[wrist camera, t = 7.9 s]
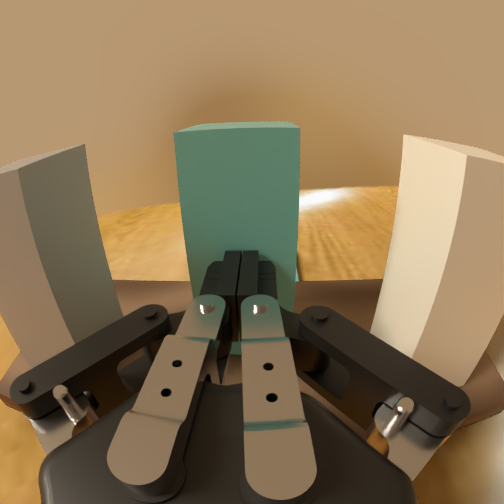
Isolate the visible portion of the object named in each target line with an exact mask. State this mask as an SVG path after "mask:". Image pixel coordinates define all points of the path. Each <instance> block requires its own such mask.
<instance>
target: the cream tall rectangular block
mask: <svg viewBox="0 0 504 504" xmlns="http://www.w3.org/2000/svg"><path fill="white" fill-rule="evenodd" d="M503 314H504V157H502V156H500V155H497V154H494V153H492V152H489V151H486V150H483V149H480V148H475V147H471V146H467V145H462V144H456V143H452V142H446V141H441V140H436V139H430V138H424V137H417V136H411V135H404V139H403V152H402V164H401V174H400V184H399V191H398V199H397V206H396V213H395V220H394V226H393V232H392V238H391V243H390V249H389V254H388V259H387V264H386V269H385V274H384V278H383V283H382V287H381V291H380V296H379V300H378V304H377V308H376V312H375V315H374V319H373V323H372V327H371V330H370V333H371V334H373V335H374V336H376V337H378V338H379V339H381V340H382V341H384V342H386V343H387V344H389V345H390V346H392V347H394V348H395V349H397V350H399V351H400V352H402V353H403V354H405V355H407V356H408V357H410V358H412V359H413V360H415V361H416V362H418V363H420V364H421V365H423V366H424V367H426V368H428V369H429V370H431V371H433V372H434V373H436V374H437V375H439V376H441V377H442V378H444V379H446V380H447V381H449V382H451V383H452V384H454V385H455V386H457V387H459V386H463V385H464V384H465V383H466V381H467V380H468V378H469V376H470V375H471V373H472V372H473V370H474V368H475V367H476V365H477V363H478V362H479V360H480V358H481V356H482V355H483V353H484V351H485V349H486V347H487V346H488V344H489V342H490V340H491V338H492V336H493V334H494V332H495V330H496V328H497V326H498V324H499V322H500V320H501V318H502V316H503Z"/></svg>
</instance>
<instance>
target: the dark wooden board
mask: <svg viewBox="0 0 504 504" xmlns="http://www.w3.org/2000/svg"><path fill="white" fill-rule="evenodd" d="M112 281H113V284H114V288H115V291H116V294H117V297H118V301H119V304H120V307H121V310H122V313H123V316H126V315H128V314H129V313H131V312H133V311H135V310H137V309H138V308H140V307H142V306H145V305H149V304H158V305H162V306H164V307H165V308H166V309H167V311H168V314H171V313H177V312H182V311H185V310H187V307H188V305H189V303H190V302H191V301H192V300H193V294H192V288H191V281H134V280H112ZM382 283H383V279H370V280H336V281H295V295H294V310H293V313H298V314H300V313H301V312H302V311H303V310H304V309H305V308H307V307H310V306H317V305H318V306H325V307H328V308H331V309H333V310H334V311H336V312H337V313H339V314H341V315H342V316H344V317H345V318H347V319H349V320H350V321H352V322H353V323H355V324H357V325H358V326H360V327H361V328H363V329H365V330H366V331H368V332H370V330H371V327H372V323H373V319H374V315H375V312H376V308H377V304H378V300H379V296H380V291H381V287H382ZM143 355H144V352H143V349H142V348H141V349H140V350H138V351H136V352H135V353H133V354H132V355H130V356H128V357H127V358H125V359H123V360H122V361H121V362H120V363H119V364H118V366H117V372H118V371H119V370H121V369H122V368H124V367H126V366H127V365H129V364H130V363H132V362H134V361H135V360H137V359H138V358H140V357H141V356H143ZM30 369H32V368H31V367H30V365H29V364H28V362H27V361H26V359H25V357H24V356H23V354H22V352H21V351H20V353H19V354H18V356H17V357H16V359H15V360H14V362H13V363H12V365H11V366H10V368H9V369H8V371H7V372H6V374H5V375H4V377H3V378H2V380H1V381H0V398H1V400H2V401H3V402H4V403H5V405H7V406H9V407H11V408H13V409H16V410H18V411H20V412H22V411H21V410H20V409H19V408H18V406H17V405H16V404H15V403H14V401H13V400H12V399H11V397H10V387H11V384H12V383H13V381H14V380H15V379H16V378H17V377H18V376H20V375H22V374H23V373H25V372H27V371H29V370H30ZM297 380H298V385H299V391H301V392H303V393H306V394H308V395H310V396H312V397H314V398H315V399H316V400H318V401H319V402H321V403H322V404H323V405H324V406H325V407H326V408H328V409H329V410H330V411H331V412H332V413H333V414H334V415H336V416H337V417H338V418H339V419H340V420H341V421H343V422H344V423H345V424H346V425H347V426H348V427H350V428H351V429H352V430H353V431H354V432H356V433H357V434H358V435H359V436H360V437H362V438H363V439H364V440H365V441H366V431H365V430H364V429H363V428H361V427H360V426H359V425H357V424H356V423H355V422H354V421H352V420H351V419H350V418H348V417H347V416H346V415H345V414H343V413H342V412H341V411H339V410H338V409H337V408H336V407H334V406H333V405H332V404H331V403H329V402H328V401H327V400H326V399H324V398H323V397H322V396H321V395H320V394H318V393H317V392H316V391H315V390H313V389H312V388H311V387H310V386H309V385H307V384H306V383H305V382H304V381H303V380H301V379H300V378H299V377H298V376H297ZM238 383H242V355H231V358H230V363H229V367H228V372H227V376H226V381H225V385H232V384H238ZM459 388H460V389H462V390H463V391H464V392H465V393H466V394H467V395H468V397H469V399H470V403H471V409H470V412H469V414H468V416H467V417H466V418H465V419H464V421H463V422H462V423H461V424H460V425H459V427H458V428H457V429H459V428H462V427H465V426H468V425H470V424H473V423H476V422H478V421H481V420H484V419H486V418H489V417H491V416H493V415H496V414H498V413H500V412H502V410H503V409H504V381H503V379H502V377H501V376H500V374H499V372H498V371H497V369H496V367H495V366H494V364H493V362H492V361H491V359H490V358H489V356H488V354H487V353H486V351H484V353H483V355H482V356H481V358H480V360H479V362H478V363H477V365H476V367H475V368H474V370H473V372H472V373H471V375H470V376H469V378H468V380H467V381H466V383H465V384H464V385H463V386H459Z"/></svg>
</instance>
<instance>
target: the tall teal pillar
mask: <svg viewBox="0 0 504 504" xmlns="http://www.w3.org/2000/svg"><path fill="white" fill-rule="evenodd" d="M174 141H175V154H176V165H177V177H178V187H179V196H180V206H181V214H182V223H183V231H184V239H185V246H186V254H187V261H188V268H189V275H190V281H191V288H192V294H193V299H194V298H196V297H198V296H199V294H200V290H201V287H202V284H203V280H204V277H205V275H206V271H207V267H208V266H209V265H210V264H211V263H212V262H214V261H223V258H224V254H225V251H226V250H241V251H243V250H259V261H271V262H272V263H273V264H274V266H275V269H276V283H277V298H278V303H279V305H280V306H281V307H282V308H284V309H285V310H287V311H290V312H293V310H294V295H295V279H296V260H297V239H298V214H299V178H300V175H299V174H300V127H298V126H296V125H294V124H292V123H290V122H232V123H213V124H199V125H196V126H192V127H189V128H186V129H183V130H180V131H176V132H174ZM230 353H231V355H242V349H241V342H240V332H239V340H238V342H232V347H231V350H230Z"/></svg>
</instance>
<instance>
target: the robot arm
mask: <svg viewBox="0 0 504 504" xmlns="http://www.w3.org/2000/svg"><path fill="white" fill-rule="evenodd" d="M239 332H240V342H241V349H242V383H238V384H232V385H225V381H226V376H227V372H228V367H229V363H230V358H231V353H230V350H231V347H232V342H238V340H239ZM141 348H142V349H143V352H144V355H143V356H141V357H140V358H138V359H137V360H135V361H134V362H132V363H130V364H129V365H127V366H126V367H124V368H122V369H121V370H119V371H118V372H117V366H118V364H119V363H120V362H121V361H122V360H123V359H125V358H127V357H128V356H130V355H132V354H133V353H135V352H136V351H138V350H140V349H141ZM297 376H298V377H299V378H300V379H301V380H303V381H304V382H305V383H306V384H307V385H309V386H310V387H311V388H312V389H313V390H315V391H316V392H317V393H318V394H320V395H321V396H322V397H323V398H324V399H326V400H327V401H328V402H329V403H331V404H332V405H333V406H334V407H336V408H337V409H338V410H339V411H341V412H342V413H343V414H345V415H346V416H347V417H348V418H350V419H351V420H352V421H354V422H355V423H356V424H357V425H359V426H360V427H361V428H363V429H364V430H365V431H366V441H365V440H364V439H363V438H362V437H360V436H359V435H358V434H357V433H356V432H354V431H353V430H352V429H351V428H350V427H348V426H347V425H346V424H345V423H344V422H343V421H341V420H340V419H339V418H338V417H337V416H336V415H334V414H333V413H332V412H331V411H330V410H329V409H328V408H326V407H325V406H324V405H323V404H322V403H321V402H319V401H318V400H316V399H315V398H314V397H312V396H310V395H308V394H306V393H303V392H301V391H299V385H298V380H297ZM10 397H11V399H12V400H13V401H14V403H15V404H16V405H17V406H18V408H19V409H20V410H21V411H22V413H23V415H24V416H25V417H26V418H27V419H28V420H29V422H30V423H31V424H32V426H33V428H34V430H35V433H36V435H37V437H38V439H39V441H40V443H41V445H42V447H43V449H44V451H45V453H46V455H47V456H46V457H45V459H44V460H43V462H42V464H41V467H40V471H39V488H40V494H41V504H417V492H416V489H415V486H414V484H413V482H412V481H413V480H414V479H415V478H416V476H417V475H418V474H419V473H420V471H421V470H422V469H423V468H424V466H425V465H426V464H427V462H428V461H429V460H430V458H431V457H432V455H433V454H434V453H435V452H436V451H437V450H438V449H439V448H440V446H441V445H442V444H443V443H444V442H445V441H446V440H447V439H448V438H449V437H450V436H451V435H452V433H453V432H454V431H455V430H456V429H457V428H458V427H459V425H460V424H461V423H462V422H463V421H464V419H465V418H466V417H467V416H468V414H469V412H470V409H471V403H470V399H469V397H468V395H467V394H466V393H465V392H464V391H463V390H462V389H460V388H459V387H457V386H455V385H454V384H452V383H451V382H449V381H447V380H446V379H444V378H442V377H441V376H439V375H437V374H436V373H434V372H433V371H431V370H429V369H428V368H426V367H424V366H423V365H421V364H420V363H418V362H416V361H415V360H413V359H412V358H410V357H408V356H407V355H405V354H403V353H402V352H400V351H399V350H397V349H395V348H394V347H392V346H390V345H389V344H387V343H386V342H384V341H382V340H381V339H379V338H378V337H376V336H374V335H373V334H371V333H370V332H368V331H366V330H365V329H363V328H361V327H360V326H358V325H357V324H355V323H353V322H352V321H350V320H349V319H347V318H345V317H344V316H342V315H341V314H339V313H337V312H336V311H334V310H333V309H331V308H328V307H325V306H318V305H317V306H310V307H307V308H305V309H304V310H303V311H302V312H301V313H300V314H298V313H293V312H290V311H287V310H285V309H284V308H282V307H281V306H280V305H279V303H278V298H277V283H276V269H275V266H274V264H273V263H272V262H271V261H259V250H243V251H241V250H226V251H225V254H224V258H223V261H214V262H212V263H211V264H210V265H209V266H208V267H207V271H206V275H205V277H204V280H203V284H202V287H201V290H200V294H199V296H198V297H196V298H194V299H193V300H192V301H191V302H190V303H189V305H188V307H187V310H185V311H182V312H177V313H171V314H168V311H167V309H166V308H165V307H164V306H162V305H158V304H149V305H145V306H142V307H140V308H138V309H137V310H135V311H133V312H131V313H129V314H128V315H126V316H124V317H122V318H121V319H119V320H117V321H115V322H113V323H112V324H110V325H108V326H106V327H105V328H103V329H101V330H99V331H97V332H96V333H94V334H92V335H90V336H89V337H87V338H85V339H83V340H81V341H80V342H78V343H76V344H74V345H73V346H71V347H69V348H67V349H66V350H64V351H62V352H60V353H58V354H57V355H55V356H53V357H51V358H50V359H48V360H46V361H44V362H43V363H41V364H39V365H37V366H36V367H34V368H32V369H30V370H29V371H27V372H25V373H23V374H22V375H20V376H18V377H17V378H16V379H15V380H14V381H13V383H12V384H11V387H10Z"/></svg>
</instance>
